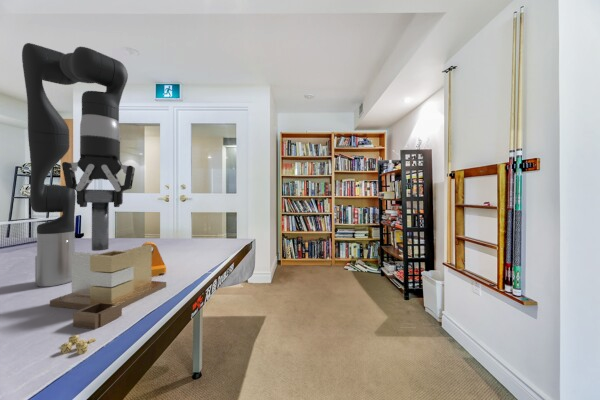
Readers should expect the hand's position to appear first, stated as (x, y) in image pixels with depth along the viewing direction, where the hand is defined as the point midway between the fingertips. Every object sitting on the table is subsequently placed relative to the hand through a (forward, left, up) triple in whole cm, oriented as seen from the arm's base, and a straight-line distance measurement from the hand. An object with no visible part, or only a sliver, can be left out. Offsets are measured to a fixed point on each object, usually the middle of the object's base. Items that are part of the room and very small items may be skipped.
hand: (100, 206), depth 60 cm
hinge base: (-7, +8, -27) cm, 29 cm away
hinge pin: (0, 0, -10) cm, 10 cm away
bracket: (-15, +31, -27) cm, 44 cm away
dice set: (+7, -11, -28) cm, 31 cm away
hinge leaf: (-10, +7, -25) cm, 28 cm away
